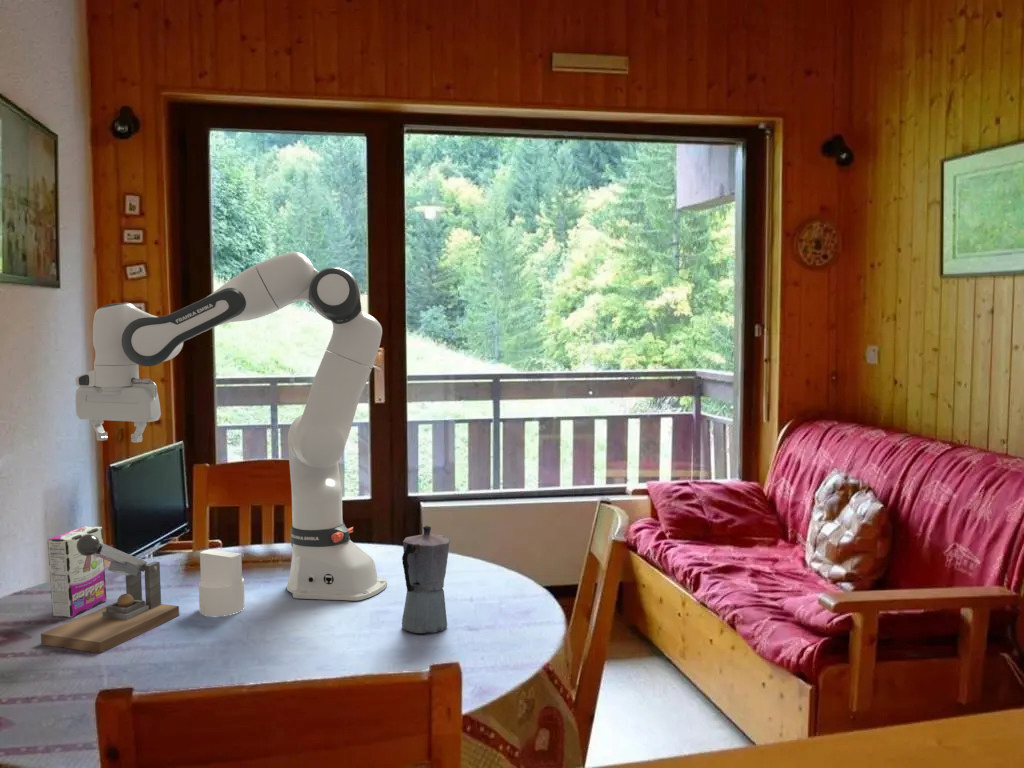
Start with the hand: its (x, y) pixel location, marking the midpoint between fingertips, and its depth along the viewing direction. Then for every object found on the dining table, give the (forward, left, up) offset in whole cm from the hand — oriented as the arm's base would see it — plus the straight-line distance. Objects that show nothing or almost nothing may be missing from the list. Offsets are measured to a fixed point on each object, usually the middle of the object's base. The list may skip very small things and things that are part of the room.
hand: (119, 441), depth 191 cm
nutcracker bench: (-14, +18, -34) cm, 41 cm away
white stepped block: (-27, +2, -34) cm, 44 cm away
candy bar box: (+2, +11, -34) cm, 36 cm away
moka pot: (-72, -1, -34) cm, 80 cm away
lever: (-14, +19, -21) cm, 32 cm away
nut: (-14, +15, -31) cm, 37 cm away
